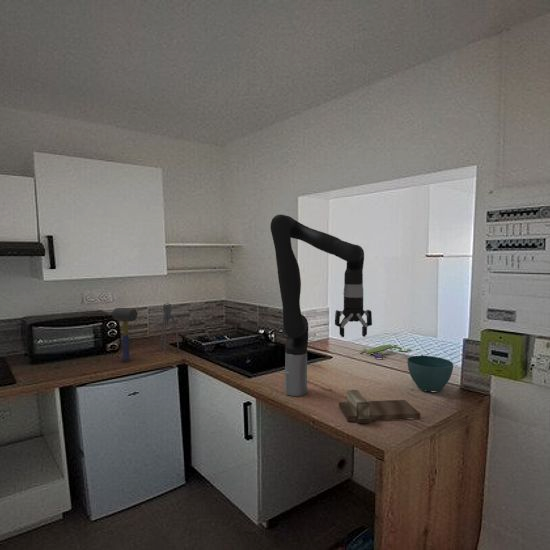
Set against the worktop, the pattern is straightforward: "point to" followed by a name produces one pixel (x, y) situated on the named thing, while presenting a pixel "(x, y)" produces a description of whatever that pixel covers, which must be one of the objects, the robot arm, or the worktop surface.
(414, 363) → the plant pot
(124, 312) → the rubber mallet
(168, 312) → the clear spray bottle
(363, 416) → the beige wooden block
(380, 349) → the figurine
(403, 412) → the walnut plank
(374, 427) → the worktop surface
